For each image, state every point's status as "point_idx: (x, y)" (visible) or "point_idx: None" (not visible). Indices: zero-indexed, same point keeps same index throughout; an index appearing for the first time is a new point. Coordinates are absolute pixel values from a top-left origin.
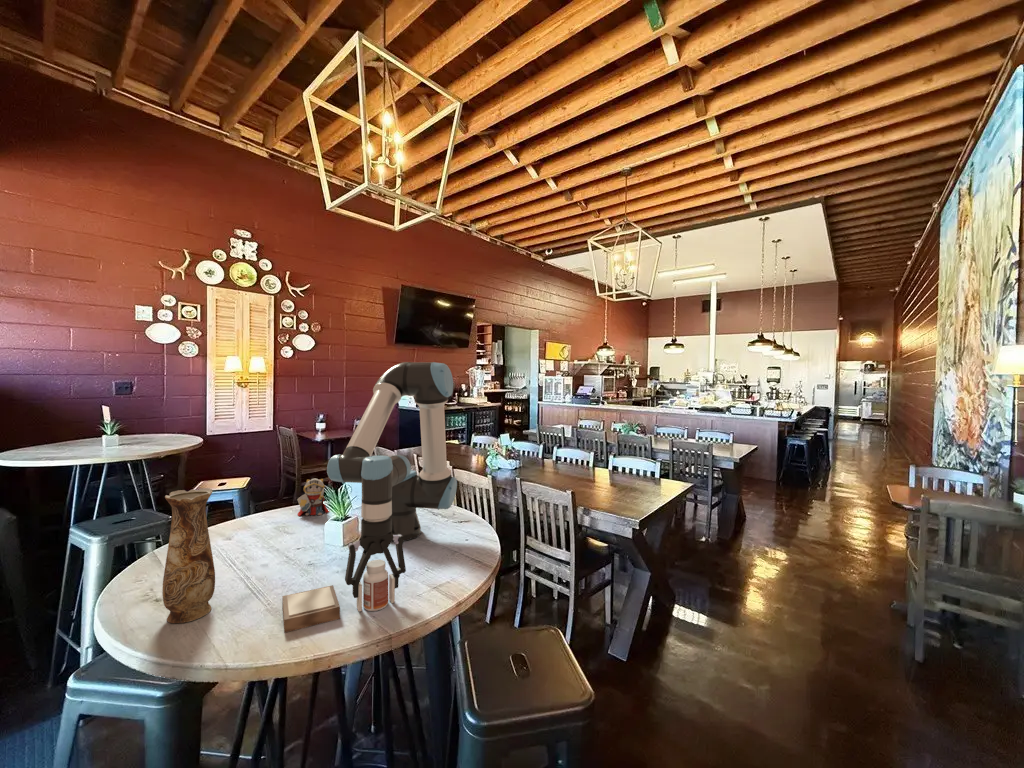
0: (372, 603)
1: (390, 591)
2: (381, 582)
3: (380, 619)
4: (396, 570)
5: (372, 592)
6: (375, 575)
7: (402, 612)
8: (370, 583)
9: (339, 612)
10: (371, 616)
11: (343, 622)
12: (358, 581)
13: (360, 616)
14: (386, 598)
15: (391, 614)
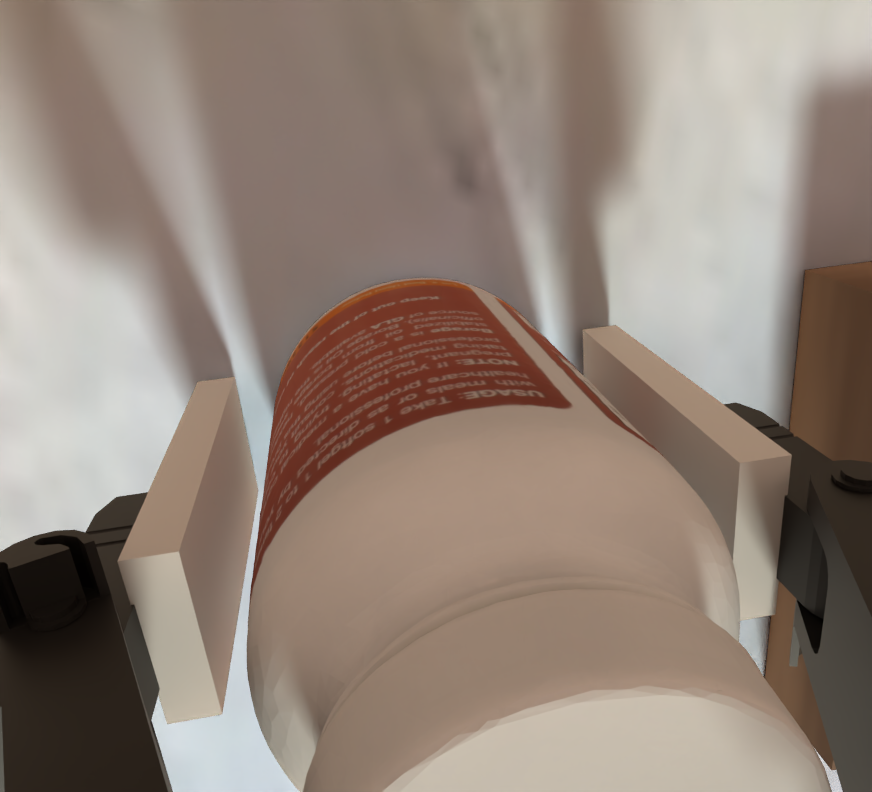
0: (494, 306)
1: (233, 492)
2: (408, 413)
3: (401, 69)
4: (28, 684)
5: (537, 352)
6: (566, 535)
7: (104, 128)
8: (624, 428)
9: (855, 285)
10: (494, 187)
11: (789, 180)
12: (849, 505)
13: (606, 237)
14: (300, 363)
15: (254, 136)
